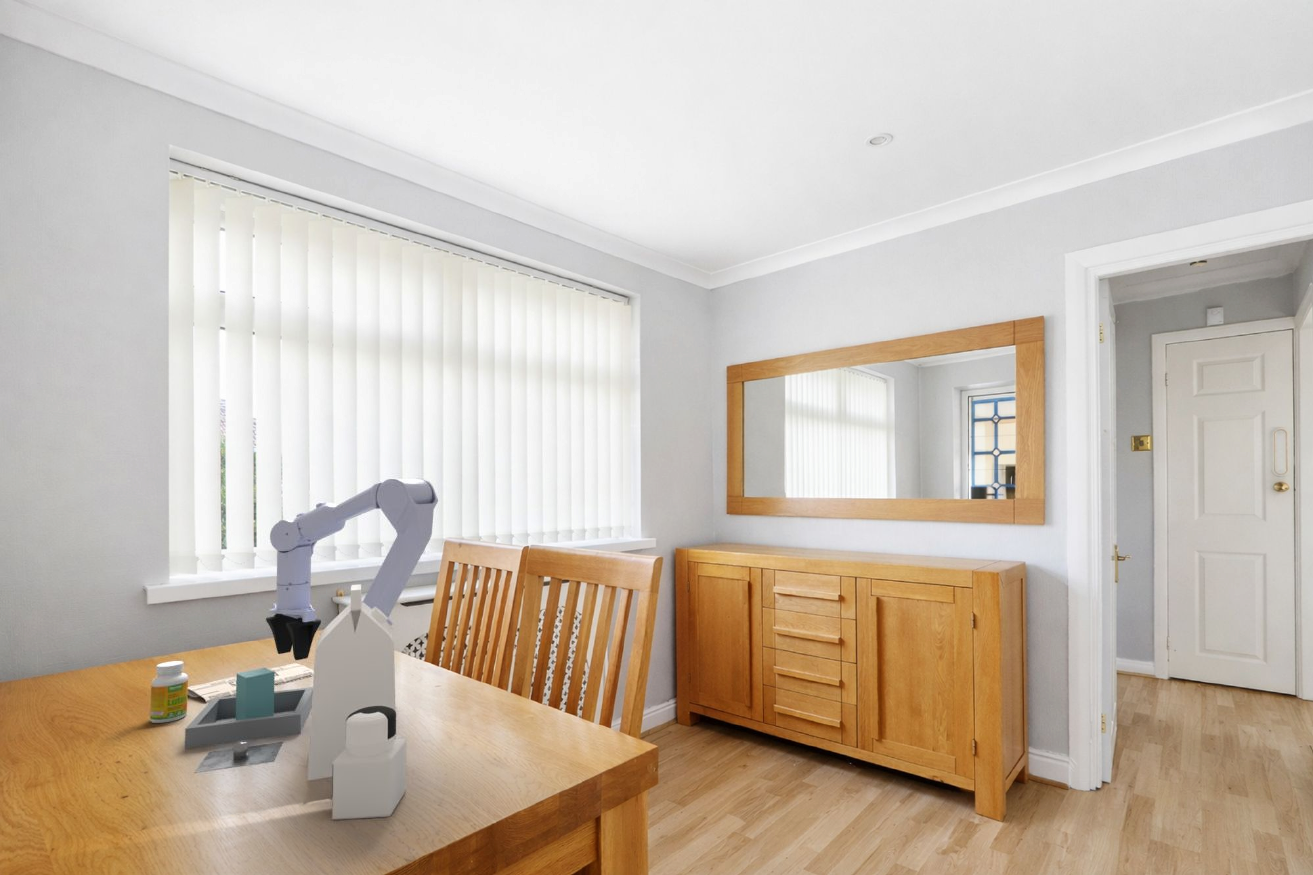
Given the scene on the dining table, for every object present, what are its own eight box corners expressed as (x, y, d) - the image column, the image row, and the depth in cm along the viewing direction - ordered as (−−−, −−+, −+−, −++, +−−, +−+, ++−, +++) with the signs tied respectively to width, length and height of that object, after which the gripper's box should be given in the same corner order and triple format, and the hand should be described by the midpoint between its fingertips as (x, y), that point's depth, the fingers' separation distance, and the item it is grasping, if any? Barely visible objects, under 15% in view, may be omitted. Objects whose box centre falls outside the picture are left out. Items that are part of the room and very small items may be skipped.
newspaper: (288, 669, 153) (288, 658, 154) (316, 683, 147) (317, 671, 147) (173, 696, 135) (174, 683, 135) (200, 713, 128) (201, 700, 128)
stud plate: (283, 748, 106) (283, 728, 106) (273, 768, 98) (274, 747, 98) (209, 758, 102) (209, 738, 102) (193, 779, 95) (194, 758, 95)
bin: (313, 708, 124) (313, 686, 124) (300, 739, 109) (300, 714, 109) (212, 721, 118) (213, 698, 119) (184, 755, 103) (185, 728, 104)
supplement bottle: (167, 724, 117) (169, 668, 118) (142, 723, 118) (143, 667, 119) (194, 714, 122) (195, 660, 123) (169, 712, 123) (171, 659, 124)
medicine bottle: (352, 794, 89) (353, 702, 90) (406, 791, 90) (407, 700, 91) (330, 821, 82) (332, 721, 83) (390, 817, 83) (391, 718, 84)
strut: (263, 719, 117) (264, 667, 117) (273, 725, 114) (274, 671, 115) (235, 727, 113) (236, 673, 114) (244, 733, 111) (246, 677, 111)
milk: (313, 756, 102) (316, 584, 104) (394, 743, 107) (395, 579, 109) (307, 788, 91) (310, 596, 93) (397, 772, 96) (398, 589, 98)
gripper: (255, 582, 128) (254, 654, 128) (287, 589, 119) (286, 666, 118) (294, 578, 134) (293, 647, 133) (327, 584, 125) (326, 658, 124)
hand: (292, 655), depth 126 cm, fingers open, 7 cm apart
